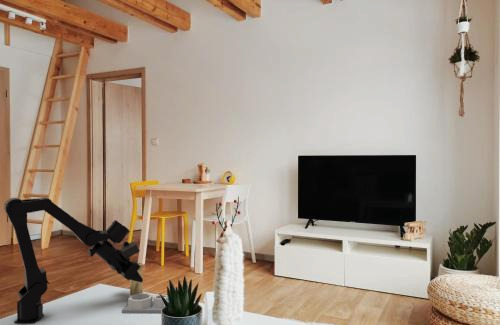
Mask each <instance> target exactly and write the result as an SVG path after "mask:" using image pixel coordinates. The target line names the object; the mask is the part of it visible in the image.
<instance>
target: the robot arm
mask: <svg viewBox="0 0 500 325" xmlns="http://www.w3.org/2000/svg"><path fill="white" fill-rule="evenodd" d="M3 209H4V212H5V213H6V215H7V218H8V219H9V221H10V223H11V225H12V227H13V230H14V233H15V237H16V241H17V245H18V248H19V253H20V257H21V260H22V263H23V267H24V285H23V286H22V287H21V288H20V289H19V290H18V292H17V295H18V298H19V300H18V301H16V318H17V319H15V320H14V321H13V323H14V324H34V323H36V322H37V321H39V320H40V319H42V318H43V317H44V316H45V314H44V305H43V303H42V296H43V295H44V294H45V293H46V292H47V290H48V284H50V282H49V280H48V277H47V271H46V270H45V268H44V267H41V268H40V267H39V265H38V261H37V258H36V254H35V251H34V250H35V249H34V246H33V243H32V240H31V235H30V231H29V227H28V214H32V213H36V212H42V211H44V212H46V213H47V214H48V215H49V216H51V217H52V218H54V219H55V220H57V221H58V222H59V223H61V224H62V225H63V226H64V227H66V228H68V230H70V231H71V232H72V233H73V234H74V236H75V237H76V239H78V240H79V241H80V242H81V243H82V244H84V246H87V247H88V248H87V250H88V251H87V252H88V253H87V255H88V256H89V257H91V258H92V257H94V256H95V254H96V255H97V256H98V257H99V258H100V259H102V261H103V262H105V263H106V264H108V265H109V266H108V267H109V268H110V269H111V270H113V271H114V272H115V271H116V273H117V274H118V275H121V277H123V279H125V280H127V281H130V280H133V281H137V282H142V281H144V279H142V277H141V276H140V274H139V273H138V271H137V270H138V269H139V268H140V265H139V264H138V263H139V262H136V261H134V260H131V257H132V256H134V255H135V254H138V253H140V251H141V250H140V248H139V245H138V244H137V242H135V241H132V242H128V241H126V240H125V241H124V242H122V241H123V240H124V239H125V238H126V237H127V236H128V235H129V233H130V232H131V231H130V230H129V228H127V226H125V225H123V224H122V223H120V222H119V221H118V220H117V219H115V220H113V221H112V223H111V225H109V226H108V227H107V229H105V231H104V230H96V229H94V228H92V227H90V226H89V225H87V224H84V223H83V222H80V221H78V220H77V219H76V218H74V217H73V216H71V215H70V214H69V213H67V211H65V210H63V208H61V207H59V205H57V204H55V203H54V201H52V199H50V198H48V197H41V198H25V199H21V198H19V197H11V198H9V199H7V200H6V201H5V202H4V205H3ZM108 240H109V241H108ZM121 243H122V245H121V246H122V247H121V248H120V249H119V248H116V246H114V245H116V244H121ZM113 244H114V245H113Z"/></svg>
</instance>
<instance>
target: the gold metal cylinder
mask: <svg viewBox="0 0 500 325" xmlns="http://www.w3.org/2000/svg"><path fill="white" fill-rule="evenodd" d="M137 263H138V264H139V265H140V268H139V269H138V270H137V271H138V273H139V274H140V276H141V277H142V279H143V278H144V277H143V276H144V275H143V274H144V272H143V268H144V266H143V265H144V264H143V263H142V262H137ZM143 281H144V279H143ZM143 281H142V282H137V281H133V280H129V297H130V296H131V295H134V294H138V293H144V292H143V291H144V290H143V289H144V288H143V283H144V282H143Z"/></svg>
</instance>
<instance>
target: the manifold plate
mask: <svg viewBox="0 0 500 325" xmlns="http://www.w3.org/2000/svg"><path fill="white" fill-rule="evenodd" d="M160 295H162V296H163V297H165V298H166V300H167V301H169V297H168V298H167V296H168V295H167V294H158V295H154V296H153V295H152V294H151V293H148V292H146V293H145V292H143V293H138V294H134V295H131V296H130V295H129V297H128V298H127V304H126V305H125V306H124V307H123V308H122V310H121V314H162V313H161V310H162V309H163V308H164V307H165V306H164V303H163V301H162V299H161V296H160Z"/></svg>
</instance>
